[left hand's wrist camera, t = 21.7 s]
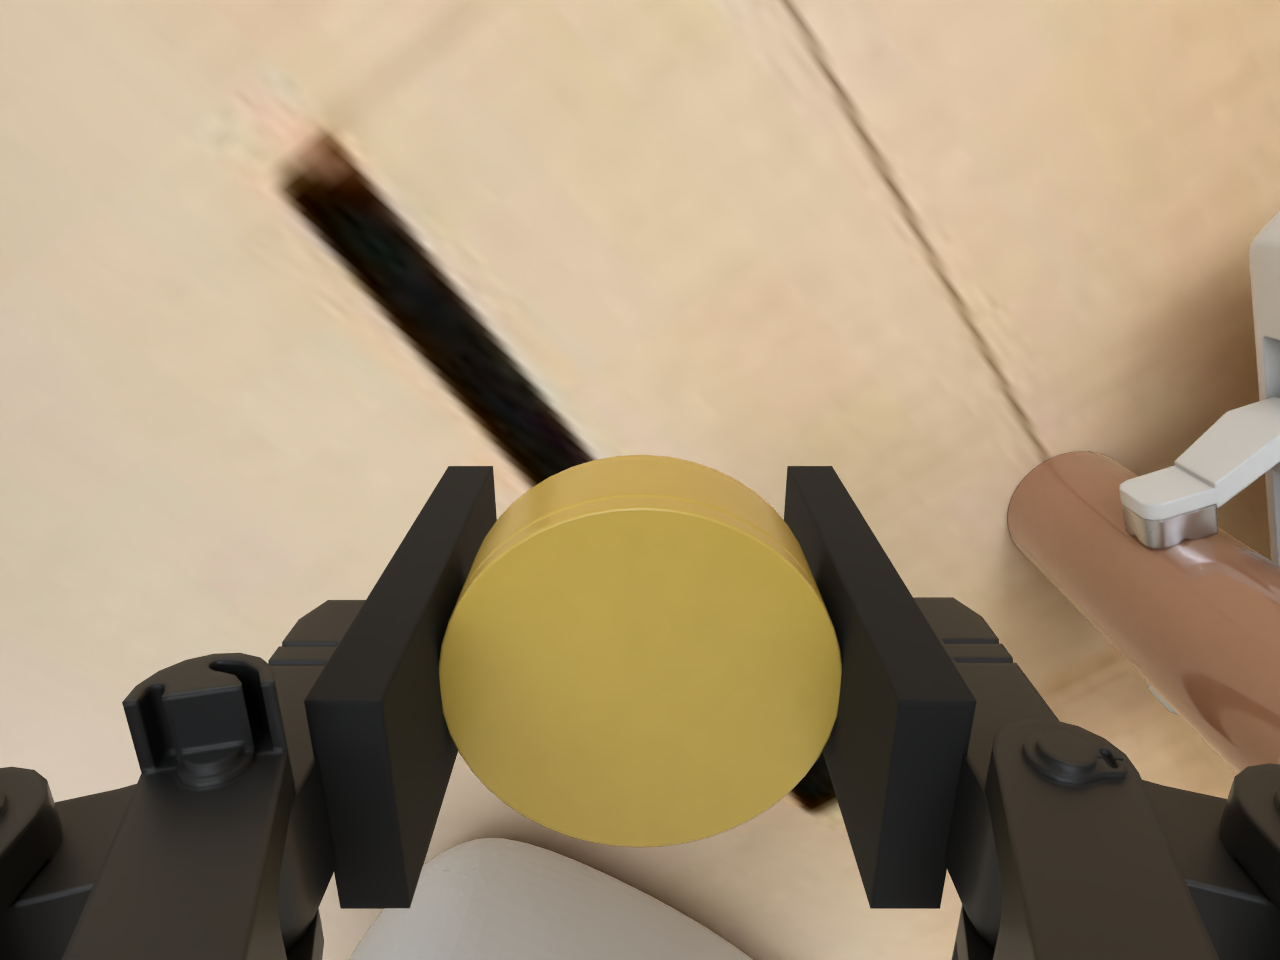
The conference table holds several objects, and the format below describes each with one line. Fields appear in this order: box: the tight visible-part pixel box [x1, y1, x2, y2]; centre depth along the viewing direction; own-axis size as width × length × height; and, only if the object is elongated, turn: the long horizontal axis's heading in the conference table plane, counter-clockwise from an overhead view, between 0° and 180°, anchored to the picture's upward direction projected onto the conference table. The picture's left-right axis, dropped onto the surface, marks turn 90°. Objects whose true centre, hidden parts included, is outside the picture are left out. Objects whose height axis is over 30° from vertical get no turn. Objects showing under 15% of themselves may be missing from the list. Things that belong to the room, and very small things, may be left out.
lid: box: [439, 455, 842, 847], centre depth 11 cm, size 5×5×2 cm
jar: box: [1008, 451, 1280, 775], centre depth 23 cm, size 5×5×15 cm
